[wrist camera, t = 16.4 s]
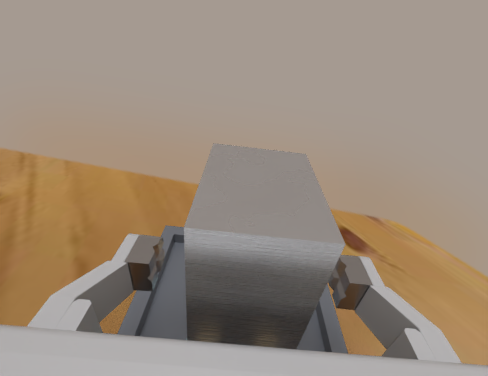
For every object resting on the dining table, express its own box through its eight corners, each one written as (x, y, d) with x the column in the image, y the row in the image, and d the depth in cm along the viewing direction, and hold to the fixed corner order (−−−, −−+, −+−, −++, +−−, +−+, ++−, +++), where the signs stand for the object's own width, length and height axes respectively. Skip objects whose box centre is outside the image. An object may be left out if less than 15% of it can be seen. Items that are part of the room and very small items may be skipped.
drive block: (188, 395, 13) (183, 227, 7) (206, 292, 18) (213, 142, 12) (271, 402, 13) (345, 244, 7) (266, 298, 18) (305, 152, 12)
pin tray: (20, 610, 9) (-44, 625, 6) (167, 244, 24) (164, 208, 22) (398, 627, 9) (469, 648, 7) (307, 258, 24) (320, 224, 22)
